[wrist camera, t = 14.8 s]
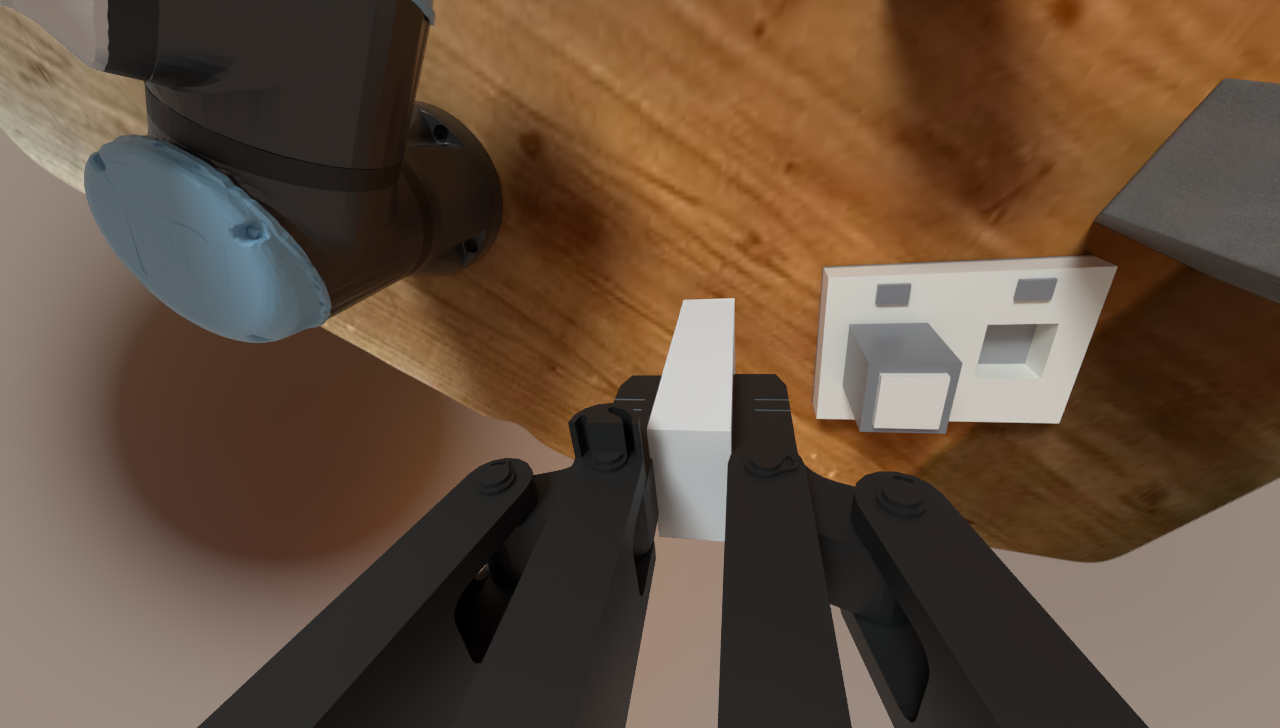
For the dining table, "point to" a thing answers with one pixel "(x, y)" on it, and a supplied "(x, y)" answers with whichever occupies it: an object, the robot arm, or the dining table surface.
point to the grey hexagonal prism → (1213, 190)
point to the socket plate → (973, 328)
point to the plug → (900, 378)
